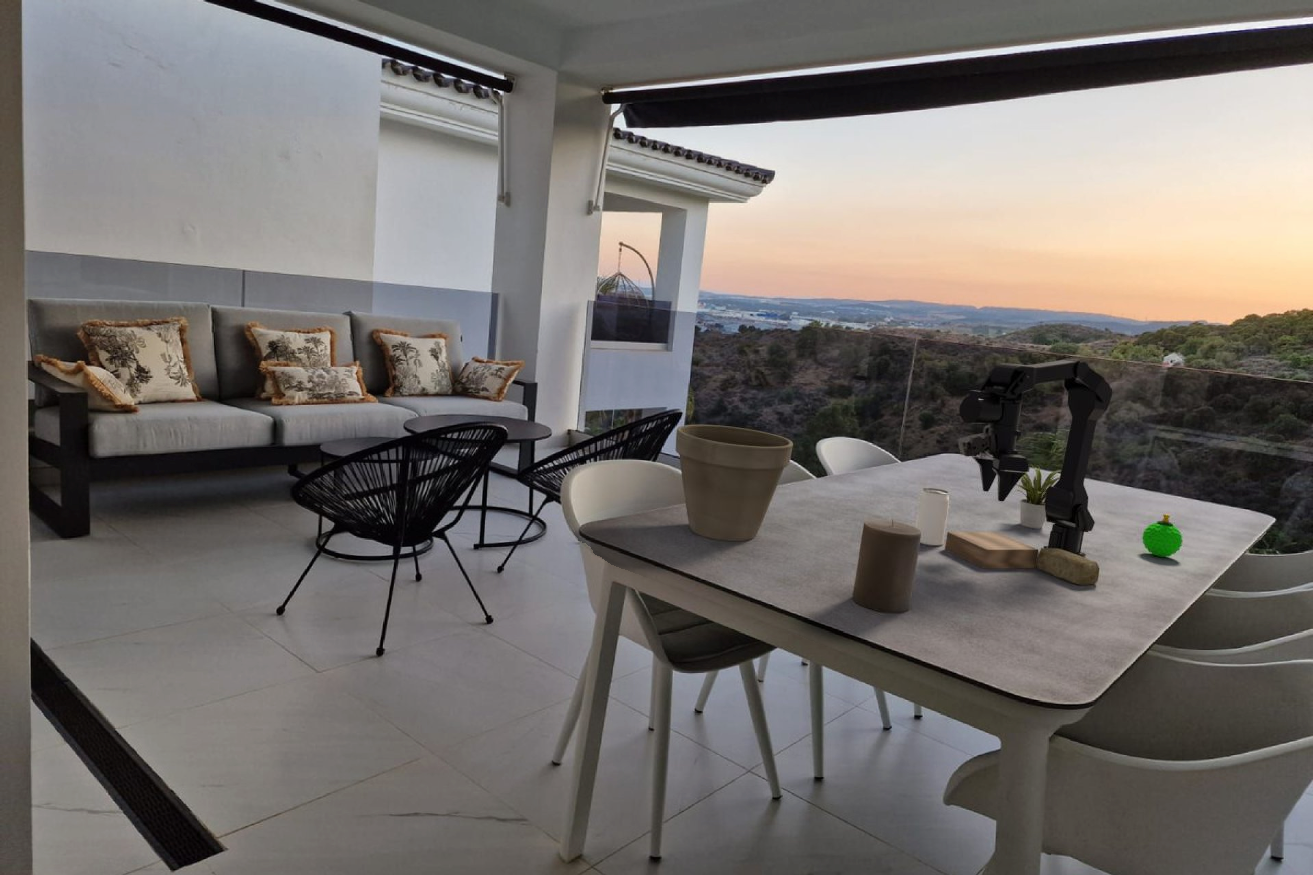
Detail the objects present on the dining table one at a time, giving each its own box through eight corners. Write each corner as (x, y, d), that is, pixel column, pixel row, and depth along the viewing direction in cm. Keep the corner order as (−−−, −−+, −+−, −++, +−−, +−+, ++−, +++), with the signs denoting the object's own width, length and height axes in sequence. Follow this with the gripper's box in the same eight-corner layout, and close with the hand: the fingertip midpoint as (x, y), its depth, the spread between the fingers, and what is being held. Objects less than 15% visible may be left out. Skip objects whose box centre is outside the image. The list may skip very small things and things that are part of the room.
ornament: (1141, 548, 202) (1148, 508, 200) (1180, 557, 197) (1188, 516, 196) (1137, 555, 195) (1145, 513, 194) (1177, 563, 190) (1186, 521, 189)
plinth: (993, 549, 188) (996, 532, 187) (1035, 567, 176) (1038, 549, 175) (944, 549, 184) (947, 531, 183) (984, 568, 172) (987, 549, 171)
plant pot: (805, 543, 178) (818, 443, 175) (715, 554, 164) (726, 446, 161) (731, 514, 198) (741, 424, 195) (645, 521, 184) (654, 424, 181)
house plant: (1070, 527, 218) (1080, 466, 215) (1063, 537, 206) (1074, 472, 203) (1012, 516, 225) (1021, 456, 222) (1002, 525, 213) (1012, 462, 211)
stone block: (1078, 587, 165) (1082, 563, 164) (1032, 569, 176) (1036, 546, 175) (1099, 586, 168) (1103, 562, 167) (1052, 568, 178) (1056, 545, 177)
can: (944, 547, 185) (952, 495, 183) (914, 543, 186) (922, 491, 185) (940, 540, 192) (948, 489, 190) (911, 536, 193) (919, 485, 191)
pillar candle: (876, 615, 138) (889, 527, 136) (841, 594, 147) (853, 511, 144) (922, 612, 142) (936, 526, 140) (885, 592, 151) (897, 511, 148)
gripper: (951, 414, 185) (942, 483, 187) (979, 427, 166) (969, 503, 169) (1002, 418, 185) (992, 487, 187) (1036, 431, 166) (1024, 507, 169)
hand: (993, 496), depth 178 cm, fingers open, 9 cm apart
